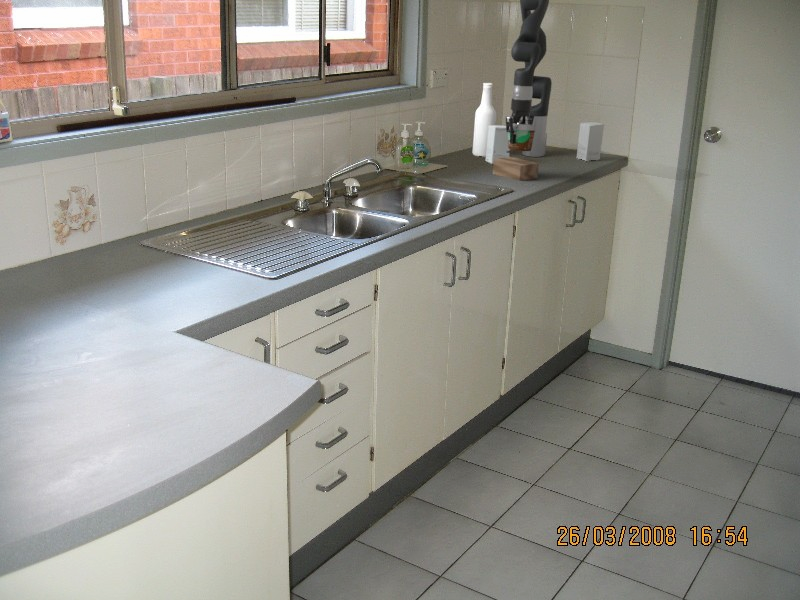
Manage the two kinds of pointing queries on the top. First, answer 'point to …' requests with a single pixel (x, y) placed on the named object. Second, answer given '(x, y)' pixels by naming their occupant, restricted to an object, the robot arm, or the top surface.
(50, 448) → the top surface
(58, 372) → the top surface
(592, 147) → the skincare box
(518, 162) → the walnut block
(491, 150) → the skincare box
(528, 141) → the food container
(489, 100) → the alcohol
